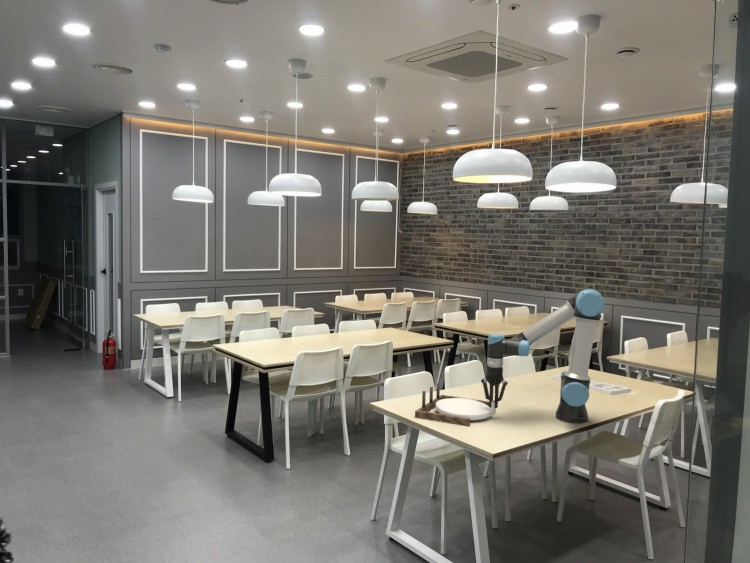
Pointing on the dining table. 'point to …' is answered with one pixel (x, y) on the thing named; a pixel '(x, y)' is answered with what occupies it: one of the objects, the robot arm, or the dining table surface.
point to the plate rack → (425, 414)
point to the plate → (463, 408)
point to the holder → (605, 388)
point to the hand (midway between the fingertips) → (493, 414)
